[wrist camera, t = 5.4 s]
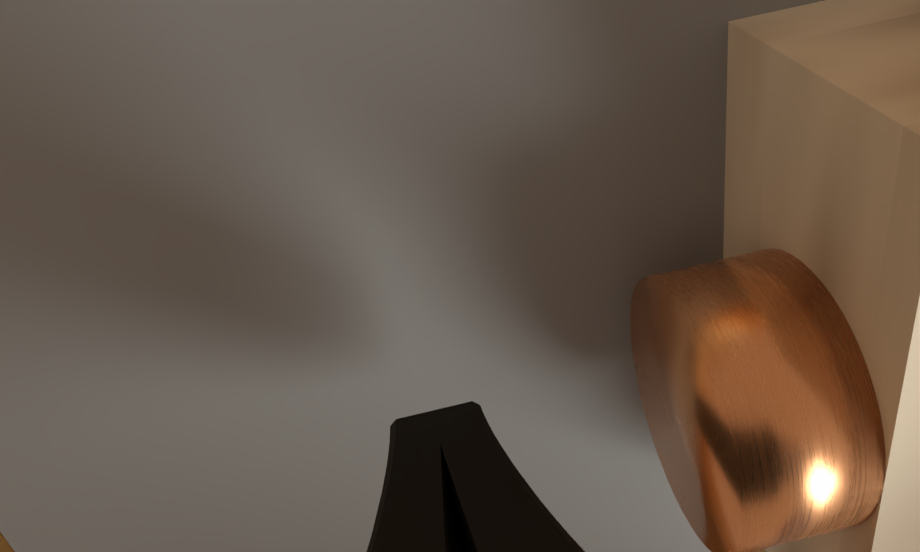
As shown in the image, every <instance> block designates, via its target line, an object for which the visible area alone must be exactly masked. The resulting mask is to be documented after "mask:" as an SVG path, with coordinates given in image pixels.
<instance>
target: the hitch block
mask: <svg viewBox="0 0 920 552" xmlns="http://www.w3.org/2000/svg"><path fill="white" fill-rule="evenodd" d="M771 248H773V249H779V250H782V251H785V252H787V253H789V254H791V255H793V256H794V257H796V258H797V259H799V260H800V261H801V262H803V263H804V264H805V265H806V266H807V267H808V268H809V269H811V271H812V272H813V273H814V274H815V275H816V276H817V277H818V278H819V279H820V280H821V282H822V283H823V284H824V286H825V287H826V288H827V290H828V291H829V292H830V294H831V295H832V297H833V298H834V300H835V301H836V303H837V304H838V306H839V308H840V309H841V311H842V312H843V314H844V316H845V318H846V320H847V322H848V324H849V326H850V327H851V329H852V331H853V334H854V336H855V338H856V340H857V342H858V345H859V347H860V349H861V352H862V354H863V357H864V360H865V362H866V365H867V368H868V370H869V373H870V376H871V380H872V383H873V386H874V390H875V393H876V397H877V401H878V406H879V410H880V414H881V420H882V427H883V433H884V443H885V479H884V487H883V492H882V495H881V499H880V502H879V504H878V506H877V508H876V511H875V512H874V513H873V515H872V516H871V517H870V518H869V519H868V520H867V521H865V522H864V523H862V524H860V525H856V526H852V527H848V528H844V529H840V530H836V531H832V532H828V533H824V534H820V535H816V536H812V537H808V538H804V539H800V540H796V541H792V542H788V543H784V544H780V545H776V546H772V547H768V548H764V549H765V551H766V552H920V0H824V1H820V2H815V3H811V4H806V5H801V6H797V7H792V8H788V9H783V10H778V11H774V12H769V13H765V14H760V15H756V16H751V17H746V18H742V19H737V20H733V21H728V59H727V106H726V152H725V198H724V244H723V259H725V258H729V257H733V256H738V255H742V254H746V253H751V252H755V251H759V250H763V249H771Z"/></svg>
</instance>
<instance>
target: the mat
mask: <svg viewBox="0 0 920 552" xmlns="http://www.w3.org/2000/svg"><path fill="white" fill-rule="evenodd" d="M820 1H824V0H0V532H1V534H2V535H3V536H4V538H5V539H6V540H7V542H8V543H9V545H10V546H11V547H12V549H13V550H14V551H15V552H367V549H368V545H369V542H370V538H371V535H372V531H373V527H374V523H375V519H376V514H377V510H378V506H379V502H380V498H381V494H382V489H383V483H384V478H385V472H386V467H387V460H388V453H389V443H390V426H391V425H392V423H393V422H394V421H395V420H396V419H399V418H403V417H407V416H412V415H416V414H420V413H424V412H428V411H433V410H437V409H441V408H445V407H449V406H454V405H458V404H462V403H466V402H471V401H473V402H475V403H477V404H479V405H480V406H481V408H482V411H483V413H484V415H485V417H486V420H487V422H488V424H489V426H490V427H491V429H492V431H493V433H494V435H495V436H496V438H497V440H498V441H499V443H500V444H501V446H502V448H503V449H504V451H505V452H506V454H507V455H508V457H509V458H510V460H511V461H512V463H513V464H514V466H515V467H516V468H517V470H518V471H519V473H520V474H521V475H522V477H523V478H524V479H525V481H526V482H527V483H528V485H529V486H530V487H531V489H532V490H533V491H534V493H535V494H536V495H537V496H538V498H539V499H540V500H541V502H542V503H543V504H544V505H545V507H546V508H547V509H548V510H549V511H550V513H551V514H552V515H553V516H554V517H555V519H556V520H557V521H558V522H559V523H560V524H561V525H562V527H563V528H564V529H565V530H566V531H567V532H568V534H569V535H570V536H571V537H572V538H573V539H574V540H575V541H576V542H577V544H578V545H579V546H580V547H581V548H582V549H583V550H584V551H585V552H711V551H710V550H709V549H708V548H707V547H706V546H705V545H704V544H703V543H702V541H701V540H700V539H699V537H698V536H697V535H696V533H695V532H694V530H693V529H692V527H691V526H690V524H689V522H688V521H687V519H686V517H685V515H684V513H683V512H682V510H681V508H680V506H679V504H678V502H677V500H676V498H675V496H674V494H673V491H672V489H671V487H670V485H669V482H668V480H667V478H666V475H665V472H664V470H663V467H662V465H661V462H660V459H659V457H658V454H657V451H656V448H655V445H654V442H653V439H652V436H651V433H650V429H649V426H648V423H647V419H646V416H645V412H644V408H643V404H642V400H641V396H640V392H639V387H638V382H637V377H636V372H635V366H634V360H633V352H632V344H631V332H630V309H631V300H632V295H633V291H634V288H635V286H636V284H637V283H638V281H639V280H640V279H642V278H644V277H648V276H652V275H656V274H660V273H665V272H669V271H673V270H678V269H682V268H686V267H690V266H695V265H699V264H703V263H708V262H712V261H716V260H721V259H723V244H724V198H725V152H726V106H727V59H728V21H733V20H737V19H742V18H746V17H751V16H756V15H760V14H765V13H769V12H774V11H778V10H783V9H788V8H792V7H797V6H801V5H806V4H811V3H815V2H820Z"/></svg>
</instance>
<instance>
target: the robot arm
mask: <svg viewBox="0 0 920 552" xmlns="http://www.w3.org/2000/svg"><path fill="white" fill-rule="evenodd" d="M367 552H585V551H584V550H583V549H582V548H581V547H580V546H579V545H578V544H577V542H576V541H575V540H574V539H573V538H572V537H571V536H570V535H569V534H568V532H567V531H566V530H565V529H564V528H563V527H562V525H561V524H560V523H559V522H558V521H557V520H556V519H555V517H554V516H553V515H552V514H551V513H550V511H549V510H548V509H547V508H546V507H545V505H544V504H543V503H542V502H541V500H540V499H539V498H538V496H537V495H536V494H535V493H534V491H533V490H532V489H531V487H530V486H529V485H528V483H527V482H526V481H525V479H524V478H523V477H522V475H521V474H520V473H519V471H518V470H517V468H516V467H515V466H514V464H513V463H512V461H511V460H510V458H509V457H508V455H507V454H506V452H505V451H504V449H503V448H502V446H501V444H500V443H499V441H498V440H497V438H496V436H495V435H494V433H493V431H492V429H491V427H490V426H489V424H488V422H487V420H486V417H485V415H484V413H483V411H482V408H481V406H480V405H479V404H477V403H475V402H473V401H471V402H466V403H462V404H458V405H454V406H449V407H445V408H441V409H437V410H433V411H428V412H424V413H420V414H416V415H412V416H407V417H403V418H399V419H396V420H395V421H394V422H393V423H392V425H391V426H390V443H389V453H388V460H387V467H386V472H385V478H384V483H383V489H382V494H381V498H380V502H379V506H378V510H377V514H376V519H375V523H374V527H373V531H372V535H371V538H370V542H369V545H368V549H367Z"/></svg>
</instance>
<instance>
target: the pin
mask: <svg viewBox="0 0 920 552" xmlns="http://www.w3.org/2000/svg"><path fill="white" fill-rule="evenodd" d="M630 332H631V344H632V352H633V360H634V366H635V372H636V377H637V382H638V387H639V392H640V396H641V400H642V404H643V408H644V412H645V416H646V419H647V423H648V426H649V429H650V433H651V436H652V439H653V442H654V445H655V448H656V451H657V454H658V457H659V459H660V462H661V465H662V467H663V470H664V472H665V475H666V478H667V480H668V482H669V485H670V487H671V489H672V491H673V494H674V496H675V498H676V500H677V502H678V504H679V506H680V508H681V510H682V512H683V513H684V515H685V517H686V519H687V521H688V522H689V524H690V526H691V527H692V529H693V530H694V532H695V533H696V535H697V536H698V537H699V539H700V540H701V541H702V543H703V544H704V545H705V546H706V547H707V548H708V549H709V550H710V551H711V552H753V551H757V550H760V549H764V548H768V547H772V546H776V545H780V544H784V543H788V542H792V541H796V540H800V539H804V538H808V537H812V536H816V535H820V534H824V533H828V532H832V531H836V530H840V529H844V528H848V527H852V526H856V525H860V524H862V523H864V522H865V521H867V520H868V519H869V518H870V517H871V516H872V515H873V513H874V512H875V511H876V508H877V506H878V504H879V502H880V499H881V495H882V492H883V487H884V479H885V443H884V433H883V427H882V420H881V414H880V410H879V406H878V401H877V397H876V393H875V390H874V386H873V383H872V380H871V376H870V373H869V370H868V368H867V365H866V362H865V360H864V357H863V354H862V352H861V349H860V347H859V345H858V342H857V340H856V338H855V336H854V334H853V331H852V329H851V327H850V326H849V324H848V322H847V320H846V318H845V316H844V314H843V312H842V311H841V309H840V308H839V306H838V304H837V303H836V301H835V300H834V298H833V297H832V295H831V294H830V292H829V291H828V290H827V288H826V287H825V286H824V284H823V283H822V282H821V280H820V279H819V278H818V277H817V276H816V275H815V274H814V273H813V272H812V271H811V269H809V268H808V267H807V266H806V265H805V264H804V263H803V262H801V261H800V260H799V259H797V258H796V257H794V256H793V255H791V254H789V253H787V252H785V251H782V250H779V249H773V248H771V249H763V250H759V251H755V252H751V253H746V254H742V255H738V256H733V257H729V258H725V259H721V260H716V261H712V262H708V263H703V264H699V265H695V266H690V267H686V268H682V269H678V270H673V271H669V272H665V273H660V274H656V275H652V276H648V277H644V278H642V279H640V280H639V281H638V283H637V284H636V286H635V288H634V291H633V295H632V300H631V309H630Z"/></svg>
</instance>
